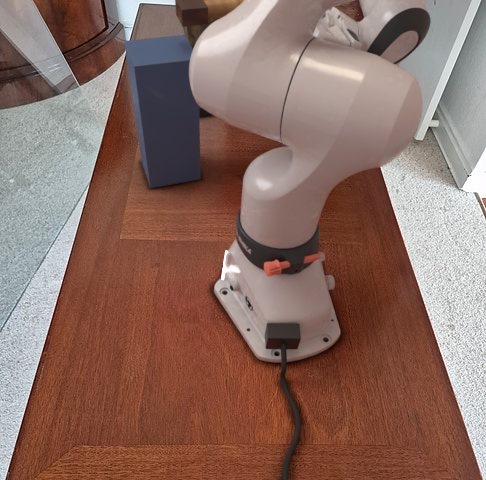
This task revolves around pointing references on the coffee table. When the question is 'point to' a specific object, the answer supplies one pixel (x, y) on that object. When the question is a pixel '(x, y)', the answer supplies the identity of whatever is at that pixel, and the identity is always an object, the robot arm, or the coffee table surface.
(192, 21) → the wooden mallet
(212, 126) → the coffee table surface
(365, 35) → the robot arm
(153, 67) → the pedestal
